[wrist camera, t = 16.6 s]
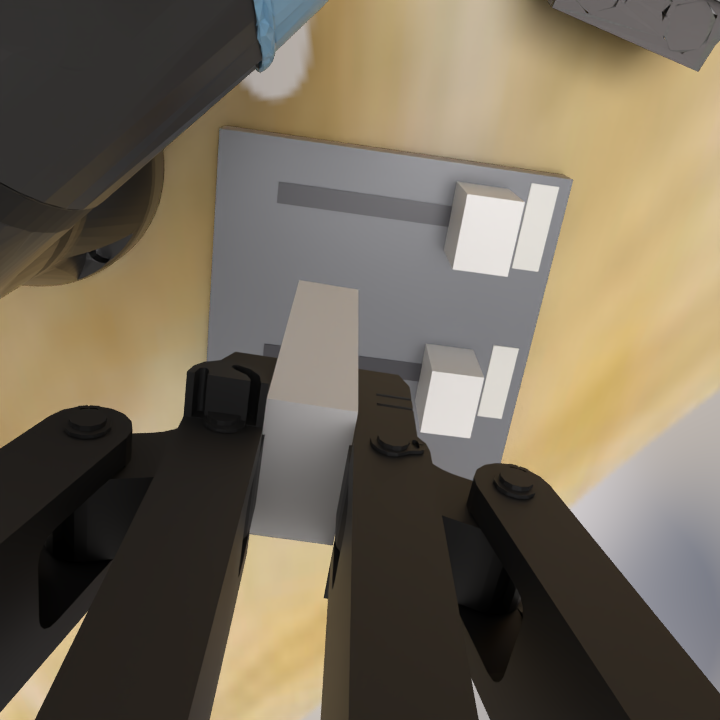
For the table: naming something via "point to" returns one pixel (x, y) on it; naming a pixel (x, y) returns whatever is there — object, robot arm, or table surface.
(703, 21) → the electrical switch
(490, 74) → the table surface
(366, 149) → the grey slider board
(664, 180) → the table surface
